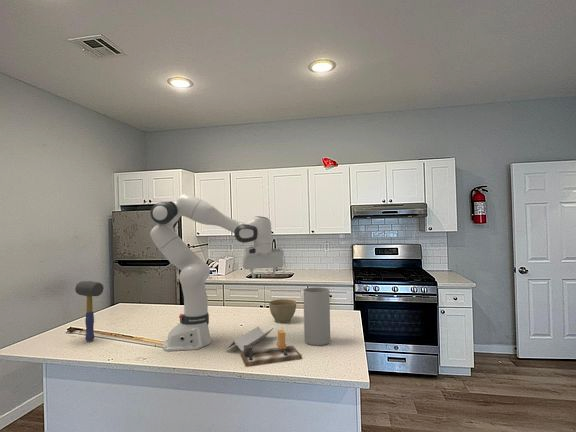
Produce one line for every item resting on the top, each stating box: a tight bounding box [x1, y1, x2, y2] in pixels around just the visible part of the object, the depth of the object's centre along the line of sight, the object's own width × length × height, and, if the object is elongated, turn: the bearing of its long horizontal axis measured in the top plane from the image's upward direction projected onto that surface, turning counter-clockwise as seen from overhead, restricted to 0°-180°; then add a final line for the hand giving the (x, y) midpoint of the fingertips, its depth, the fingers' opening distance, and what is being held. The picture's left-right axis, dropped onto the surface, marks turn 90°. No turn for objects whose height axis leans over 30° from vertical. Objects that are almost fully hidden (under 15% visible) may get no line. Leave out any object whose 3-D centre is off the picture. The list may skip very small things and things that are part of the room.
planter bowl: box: [268, 298, 297, 324], centre depth 202 cm, size 16×16×11 cm
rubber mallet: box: [74, 280, 104, 343], centre depth 173 cm, size 12×8×30 cm, turn 69°
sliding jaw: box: [276, 329, 287, 355], centre depth 149 cm, size 3×9×8 cm, turn 17°
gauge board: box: [240, 345, 303, 367], centre depth 148 cm, size 24×12×5 cm, turn 107°
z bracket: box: [224, 326, 274, 352], centre depth 164 cm, size 12×25×6 cm
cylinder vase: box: [303, 286, 331, 347], centre depth 166 cm, size 12×12×25 cm
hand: (263, 277), depth 169 cm, fingers open, 8 cm apart
